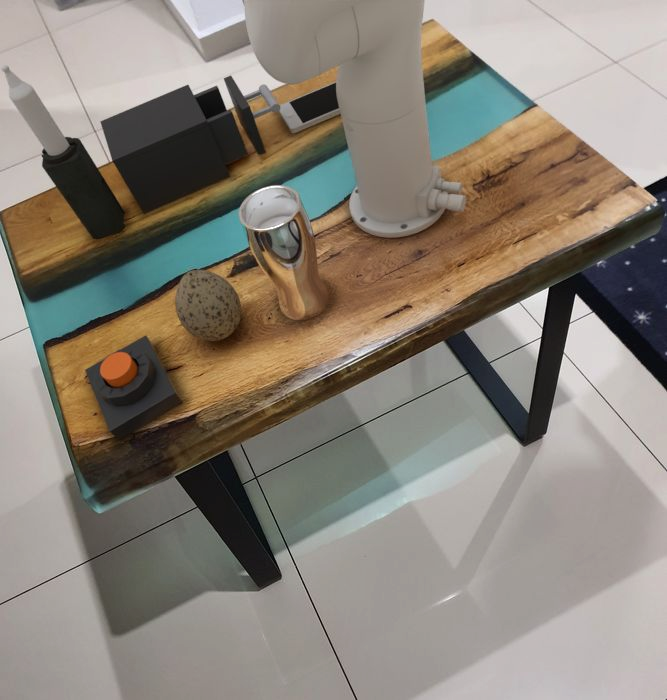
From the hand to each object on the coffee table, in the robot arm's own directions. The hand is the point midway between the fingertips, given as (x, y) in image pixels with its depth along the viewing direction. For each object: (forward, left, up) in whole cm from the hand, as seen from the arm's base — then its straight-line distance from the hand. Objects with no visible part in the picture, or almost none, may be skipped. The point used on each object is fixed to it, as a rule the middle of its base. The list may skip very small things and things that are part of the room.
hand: (299, 60), depth 91 cm
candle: (+20, +28, -9) cm, 36 cm away
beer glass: (-15, +33, -9) cm, 38 cm away
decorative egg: (-7, +40, -9) cm, 42 cm away
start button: (-1, +51, -6) cm, 51 cm away
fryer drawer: (+9, +10, -8) cm, 16 cm away
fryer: (+15, +17, -9) cm, 24 cm away
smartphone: (-1, -3, -9) cm, 10 cm away
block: (-1, +51, -9) cm, 52 cm away
